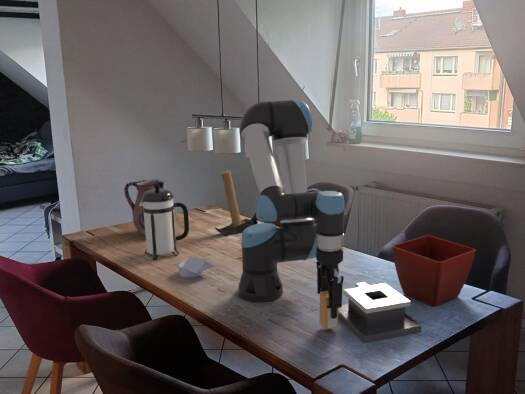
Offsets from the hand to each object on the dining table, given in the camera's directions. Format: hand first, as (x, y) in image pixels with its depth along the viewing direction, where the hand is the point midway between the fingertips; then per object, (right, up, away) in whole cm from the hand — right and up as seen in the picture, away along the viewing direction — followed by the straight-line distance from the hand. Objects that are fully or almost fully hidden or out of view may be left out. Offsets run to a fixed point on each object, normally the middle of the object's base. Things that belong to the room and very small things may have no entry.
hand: (328, 323), depth 152 cm
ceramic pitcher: (-72, +19, +96) cm, 121 cm away
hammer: (-31, +20, +95) cm, 102 cm away
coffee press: (-60, +13, +68) cm, 91 cm away
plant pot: (+36, +4, +21) cm, 42 cm away
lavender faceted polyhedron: (-45, +7, +45) cm, 64 cm away
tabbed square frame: (+14, -1, +4) cm, 15 cm away
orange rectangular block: (0, -1, 0) cm, 1 cm away
